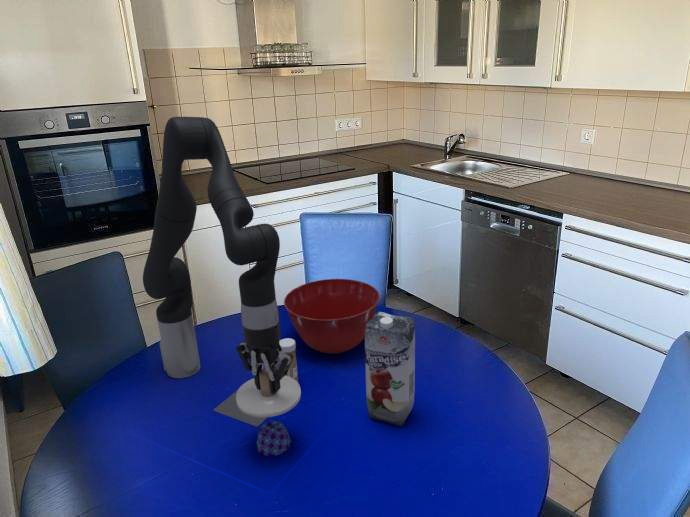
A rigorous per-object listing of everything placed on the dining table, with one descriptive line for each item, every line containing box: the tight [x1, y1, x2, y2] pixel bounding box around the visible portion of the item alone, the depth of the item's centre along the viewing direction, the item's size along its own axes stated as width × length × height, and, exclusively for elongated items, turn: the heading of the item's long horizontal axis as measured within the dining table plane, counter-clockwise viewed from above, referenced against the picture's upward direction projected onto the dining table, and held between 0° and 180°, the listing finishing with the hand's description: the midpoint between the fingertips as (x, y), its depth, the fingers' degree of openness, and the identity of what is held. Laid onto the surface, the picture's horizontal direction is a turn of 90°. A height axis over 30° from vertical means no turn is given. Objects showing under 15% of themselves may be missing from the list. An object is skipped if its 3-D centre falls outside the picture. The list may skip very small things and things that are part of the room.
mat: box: [212, 389, 268, 428], centre depth 136 cm, size 14×14×1 cm
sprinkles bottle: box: [279, 337, 299, 383], centre depth 140 cm, size 5×5×14 cm
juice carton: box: [364, 311, 416, 427], centre depth 125 cm, size 9×10×27 cm
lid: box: [236, 368, 302, 418], centre depth 115 cm, size 14×14×6 cm
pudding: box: [256, 420, 292, 457], centre depth 120 cm, size 12×12×5 cm
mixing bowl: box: [283, 278, 381, 354], centre depth 161 cm, size 28×28×15 cm
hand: (268, 389), depth 116 cm, fingers closed on lid, 3 cm apart
